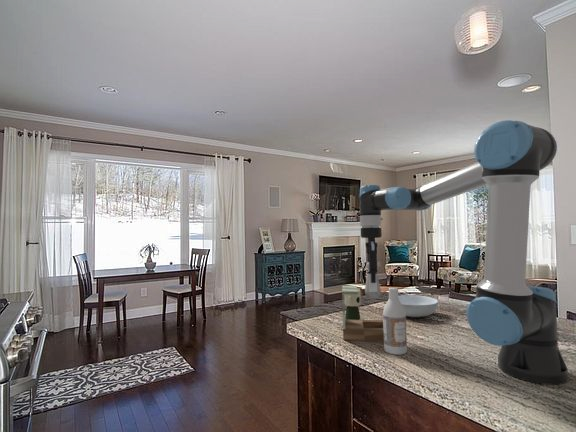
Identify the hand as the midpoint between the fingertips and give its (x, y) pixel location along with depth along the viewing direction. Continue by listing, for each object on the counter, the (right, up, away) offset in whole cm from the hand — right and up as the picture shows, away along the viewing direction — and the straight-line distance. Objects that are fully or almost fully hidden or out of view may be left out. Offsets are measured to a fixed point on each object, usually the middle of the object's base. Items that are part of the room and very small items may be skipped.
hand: (372, 289), depth 119 cm
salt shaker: (0, -3, 0) cm, 3 cm away
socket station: (-3, -17, 0) cm, 17 cm away
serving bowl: (+25, -18, +26) cm, 41 cm away
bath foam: (+3, -16, -16) cm, 23 cm away
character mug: (-3, -18, +19) cm, 26 cm away
